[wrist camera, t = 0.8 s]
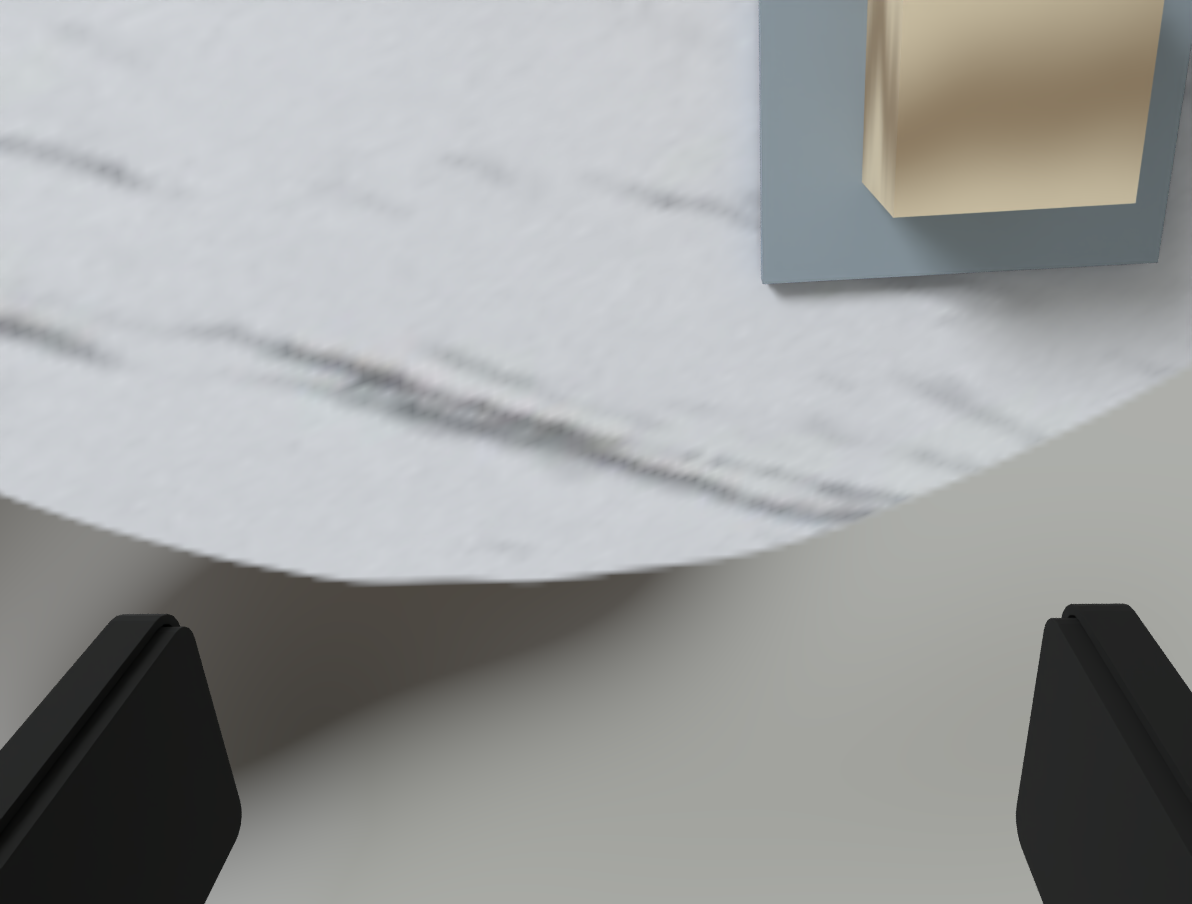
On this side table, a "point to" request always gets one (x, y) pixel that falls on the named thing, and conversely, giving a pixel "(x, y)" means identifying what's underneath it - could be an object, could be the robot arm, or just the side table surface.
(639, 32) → the side table surface
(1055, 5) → the beech block
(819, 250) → the build plate
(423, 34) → the side table surface
